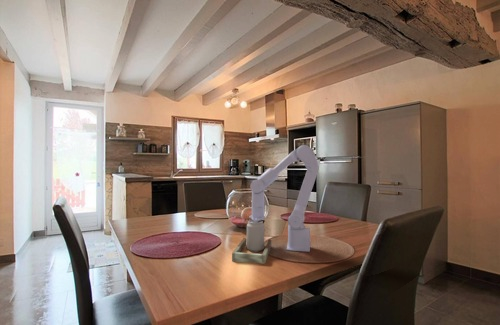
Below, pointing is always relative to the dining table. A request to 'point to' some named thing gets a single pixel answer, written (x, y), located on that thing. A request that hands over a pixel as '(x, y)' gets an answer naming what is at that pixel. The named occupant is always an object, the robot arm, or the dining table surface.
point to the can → (255, 236)
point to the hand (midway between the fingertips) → (257, 237)
